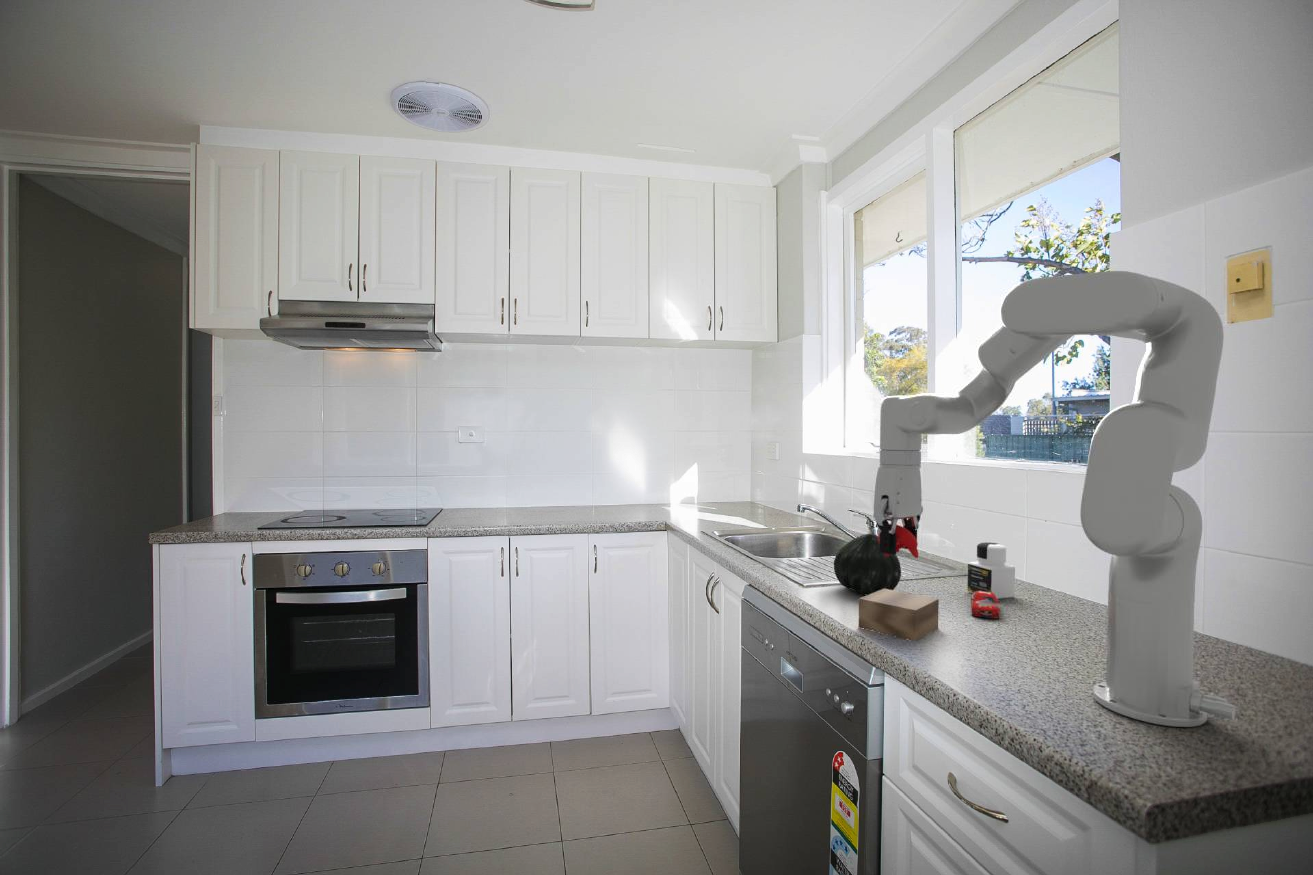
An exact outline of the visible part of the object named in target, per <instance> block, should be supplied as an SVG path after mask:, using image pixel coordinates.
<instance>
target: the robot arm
mask: <svg viewBox="0 0 1313 875" xmlns="http://www.w3.org/2000/svg"><path fill="white" fill-rule="evenodd" d="M999 307H1000V308H999V317H1000V321H1001V323H1002V324H1000V325H999V326H998V327H997V328H996V329H995V330H994V331H993V332H991V333H990V334H989V335H988V336H987V337H985V339H983V340H982V341H981V342H980V343H979V344H978V345H977V348H976V352H975V353H976V358H977V360H978V362H979V363H980V365H981V366H980V369H979V371H978V372H977V373H976V375H975V376H974V377H973V378H972V379H971V380H970V381H969V382H967V384H966V385H964V386H963V387H961V389H959V390H958V391H957V392H955V393H940V392H939V393H933V392H929V393H919V394H914V395H889V396H886V397H884V398H882V400H881V402H880V414H879V415H880V420H879V422H880V424H879V425H880V427H879V428H880V429H879V466H878V469H877V473H876V478H875V485H874V495H873V496H874V498H873V514H872V516H873V519H874V520H875V522H876V526H878V529H877V530H878V533H880V552H881V553H886V554H892V555H895V554H896V555H897V552H896V544H897V534H895V533H894V532H895V528H896V525H898V524H897V523H898V520H901V525H902V527H904V528H905V529H907V530H908V531H910V532H911V533H912V534H913V535H914V536H915V538H916V540H917V541H918V530H919V527H920V526H919V522H920V521H921V515H922V514H923V512H924V508H923V506H922V501H923V500H922V497H923V496H922V493H923V492H922V478H921V477H922V475H921V470H920V468H922V435H959V434H963V433H966V432H968V431H971V430H972V429H974V428H976V427H977V426H978V425H980V423H982V422H983V421H985V420H987V418H989V417H990V416H991V415H993V413H995V412H996V411H997V410H998V409H999V408H1000V407H1002V405H1003V404H1004V403H1005V402H1006V401H1007V399H1008V397H1009V396H1010V394H1011V393H1012V391H1013V389H1014V387H1015V385H1016V382H1017V381H1018V380H1020V378H1022V377H1023V376H1024V375H1026V374H1027V373H1028V372H1030V371H1031V370H1032V369H1033V368H1034V367H1035V366H1037V364H1040V362H1042V361H1044V359H1046V358H1047V357H1048V356H1049V355H1051V354H1052V353H1053V352H1054V351H1056V350H1057V349H1059V347H1060V346H1062V345H1063V344H1064V343H1066V342H1067V341H1069V340H1070V339H1071V338H1073V337H1074V336H1083V335H1085V336H1086V335H1089V336H1092V335H1093V336H1095V335H1096V336H1097V335H1098V336H1111V337H1117V338H1124V339H1132V340H1138V341H1141V342H1143V343H1144V344H1145V346H1146V348H1145V349H1146V351H1145V353H1144V356H1143V357H1142V359H1141V362H1140V365H1139V367H1138V370H1137V374H1136V382H1135V388H1134V389H1135V390H1134V393H1133V399H1132V402H1131V403H1127V404H1124V405H1120V406H1117V407H1116V408H1114V409H1112V410H1111V411H1109V412H1108V413H1107V414H1105V416H1104V417H1103V418H1102V419H1101V420H1100V422H1099V423H1098V425H1097V426H1096V428H1095V431H1094V432H1093V435H1092V437H1091V442H1090V446H1089V450H1088V451H1089V453H1088V457H1087V458H1088V459H1087V464H1086V471H1085V477H1084V482H1083V483H1084V484H1083V488H1082V494H1081V501H1080V515H1079V516H1080V523H1081V524H1080V525H1081V527H1082V530H1083V532H1084V534H1085V536H1086V537H1087V539H1088V541H1090V542H1091V544H1093V546H1095V547H1096V548H1098V549H1099V550H1100V551H1102V552H1104V553H1107V554H1110V555H1111V557H1110V558H1111V559H1110V564H1109V570H1108V571H1109V572H1108V588H1107V627H1106V628H1107V629H1106V630H1107V632H1106V636H1107V637H1106V678H1105V680H1106V681H1102V682H1099V683H1095V685H1094V686H1093V688H1092V696H1093V698H1094V699H1095V701H1096V702H1097V703H1099V704H1100V705H1102V706H1103V707H1105V708H1106V709H1108V710H1110V711H1113V712H1114V713H1117V714H1120V715H1121V716H1125V717H1128V718H1131V719H1134V720H1138V721H1141V722H1146V723H1150V724H1154V725H1161V726H1167V727H1175V728H1176V727H1177V728H1178V727H1179V728H1193V727H1194V728H1195V727H1198V726H1202V725H1203V724H1205V723H1206V722H1207V720H1208V714H1211V715H1214V716H1215V717H1219V718H1222V719H1224V720H1225V719H1226V720H1229V721H1234V720H1235V717H1236V705H1234V704H1230V703H1228V700H1227V698H1223V697H1219V696H1216V695H1214V696H1213V695H1210V694H1209V695H1208V694H1206V693H1205V691H1203V690H1200V681H1198V680H1195V679H1194V678H1193V676H1194V675H1193V674H1194V636H1195V635H1194V634H1195V633H1194V631H1195V601H1196V600H1195V598H1196V579H1197V578H1196V575H1197V566H1198V559H1199V553H1200V552H1199V551H1200V548H1201V541H1202V534H1203V516H1202V513H1201V509H1200V507H1199V505H1198V504H1197V502H1196V501H1195V499H1194V498H1193V496H1192V495H1190V494H1189V493H1188V492H1187V491H1185V490H1184V489H1182V488H1181V487H1178V486H1177V485H1174V484H1172V483H1173V482H1172V481H1173V476H1174V473H1179V472H1182V471H1185V470H1187V469H1190V468H1192V467H1193V466H1195V465H1196V464H1197V463H1198V462H1200V460H1201V459H1202V458H1203V456H1204V454H1205V453H1206V449H1207V445H1208V438H1209V431H1210V424H1211V420H1212V414H1213V408H1214V402H1215V396H1216V390H1217V382H1218V376H1219V370H1220V365H1221V360H1222V355H1223V348H1224V339H1225V338H1224V336H1225V335H1224V334H1225V333H1224V327H1223V322H1222V320H1221V317H1220V315H1219V313H1218V310H1216V309H1215V307H1214V306H1213V305H1212V304H1211V303H1210V301H1208V299H1206V298H1205V297H1203V296H1202V295H1200V294H1198V293H1197V292H1194V291H1193V290H1191V289H1189V288H1185V287H1183V286H1181V285H1178V284H1176V283H1173V282H1170V281H1166V280H1163V279H1160V278H1157V277H1152V276H1148V275H1144V274H1141V273H1137V272H1132V271H1126V270H1125V271H1124V270H1110V271H1109V270H1107V271H1098V272H1087V273H1079V274H1066V275H1057V276H1055V275H1054V276H1047V277H1046V276H1045V277H1036V278H1031V279H1028V280H1024V281H1022V282H1020V283H1018V284H1016V285H1015V286H1013V287H1012V288H1011V289H1010V290H1009V291H1008V292H1007V294H1006V295H1005V296H1004V298H1003V299H1002V301H1001V304H1000V306H999ZM889 524H890V525H889ZM903 549H904V550H908V548H907V547H904V548H903Z"/></svg>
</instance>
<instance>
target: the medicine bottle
mask: <svg viewBox="0 0 1313 875" xmlns="http://www.w3.org/2000/svg"><path fill="white" fill-rule="evenodd" d="M976 560H977V561H970V562H968V563H967V592H968V593H970V594H973V593H974V592H975V591H987V592H992V593H994V594H995V596H996V598H997V600H999V599H1007V598H1008V599H1009V598H1014V597H1015V596H1016V595H1015V593H1016V591H1015V590H1016V588H1015V587H1016V568H1015V566H1013V565H1010V564H1005V563H1006V562H1007V547H1006V546H1005V545H1003V544H1002V543H1001V544H1000V543H997V542H996V543H995V542H986V541H985V542H980V543H978V544H977V545H976Z"/></svg>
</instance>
